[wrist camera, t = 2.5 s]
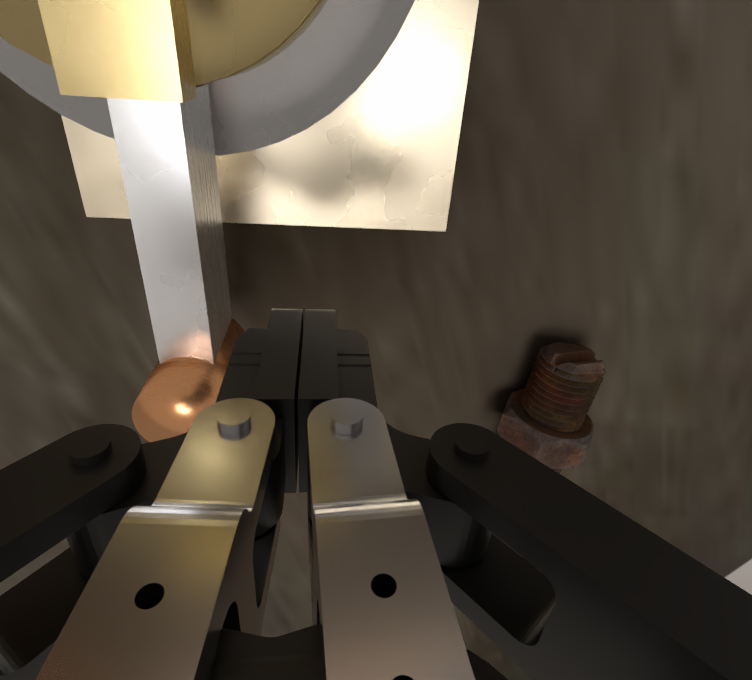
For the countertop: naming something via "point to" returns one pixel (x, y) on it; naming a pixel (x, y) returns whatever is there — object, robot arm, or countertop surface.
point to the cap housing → (312, 121)
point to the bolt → (555, 407)
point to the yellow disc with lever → (165, 157)
